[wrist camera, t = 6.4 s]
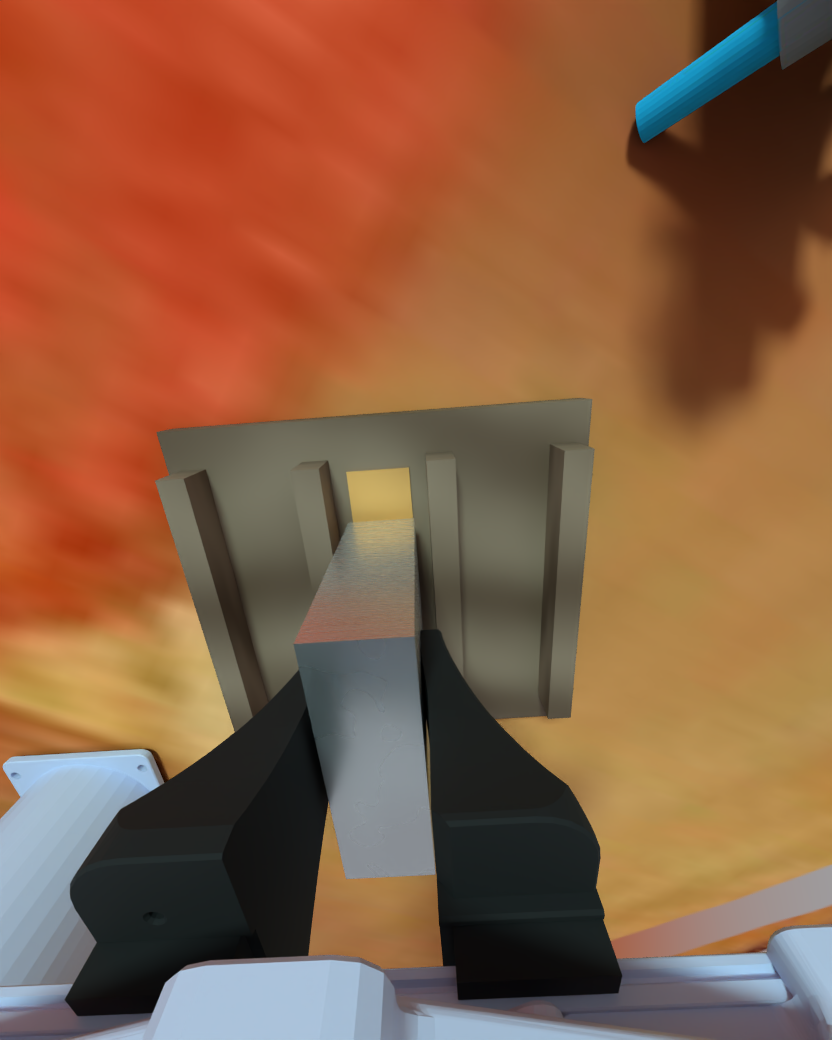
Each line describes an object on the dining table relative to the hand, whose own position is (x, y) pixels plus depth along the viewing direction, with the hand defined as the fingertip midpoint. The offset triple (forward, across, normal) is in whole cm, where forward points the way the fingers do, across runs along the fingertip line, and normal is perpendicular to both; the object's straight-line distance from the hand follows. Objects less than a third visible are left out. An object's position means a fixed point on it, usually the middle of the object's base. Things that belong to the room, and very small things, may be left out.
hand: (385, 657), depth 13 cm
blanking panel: (+3, 0, 0) cm, 3 cm away
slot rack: (+5, 0, 0) cm, 5 cm away
